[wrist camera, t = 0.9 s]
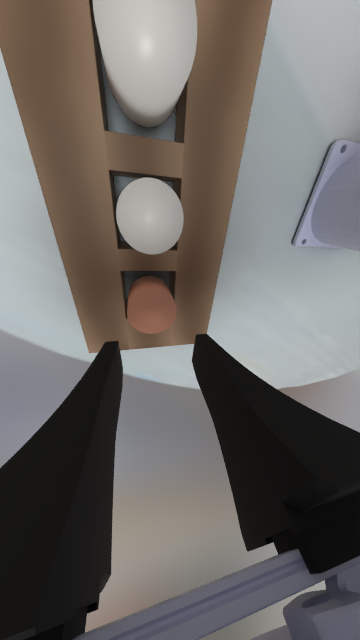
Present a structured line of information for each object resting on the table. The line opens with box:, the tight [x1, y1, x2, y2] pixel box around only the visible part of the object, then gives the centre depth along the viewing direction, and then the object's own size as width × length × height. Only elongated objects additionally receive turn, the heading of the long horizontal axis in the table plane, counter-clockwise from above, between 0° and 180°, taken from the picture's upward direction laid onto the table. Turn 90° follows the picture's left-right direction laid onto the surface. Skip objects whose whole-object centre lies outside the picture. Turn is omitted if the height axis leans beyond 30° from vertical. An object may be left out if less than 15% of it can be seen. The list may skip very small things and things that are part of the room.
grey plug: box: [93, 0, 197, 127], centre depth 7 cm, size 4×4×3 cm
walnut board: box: [0, 0, 272, 353], centre depth 13 cm, size 12×24×3 cm, turn 175°
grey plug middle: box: [116, 177, 184, 254], centre depth 11 cm, size 4×4×3 cm
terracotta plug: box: [127, 276, 177, 334], centre depth 14 cm, size 4×4×3 cm
